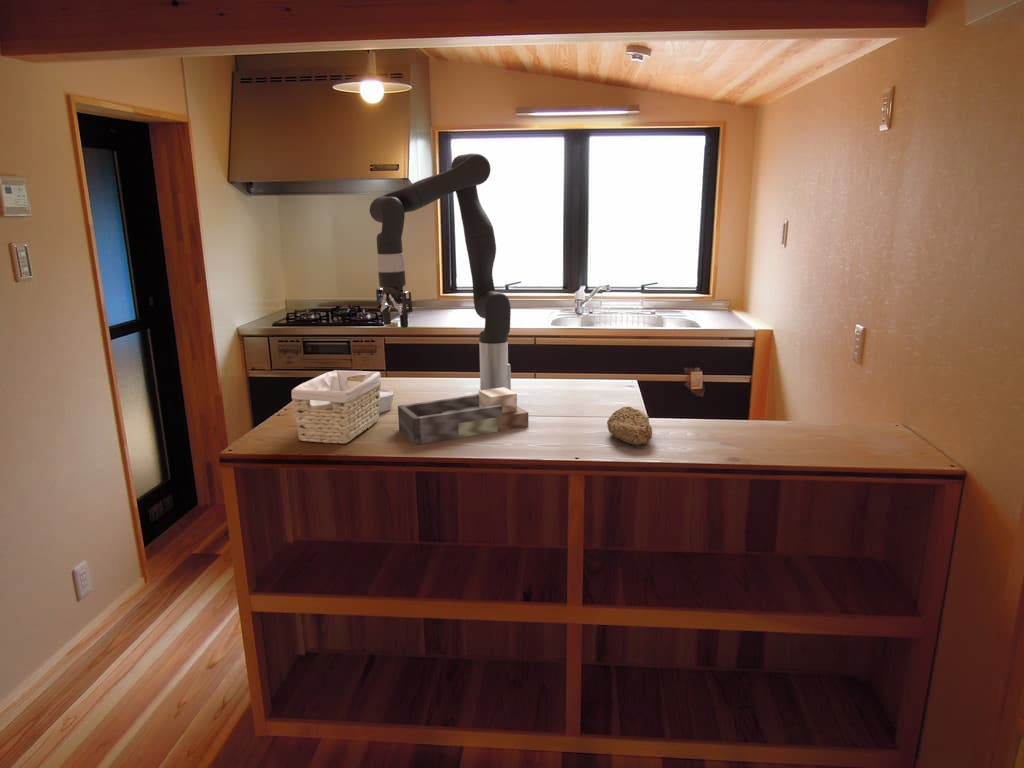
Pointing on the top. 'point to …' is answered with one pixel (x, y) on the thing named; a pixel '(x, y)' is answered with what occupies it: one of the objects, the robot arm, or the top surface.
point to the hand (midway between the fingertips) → (395, 326)
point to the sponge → (630, 426)
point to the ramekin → (385, 400)
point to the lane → (455, 419)
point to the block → (498, 399)
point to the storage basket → (336, 406)
